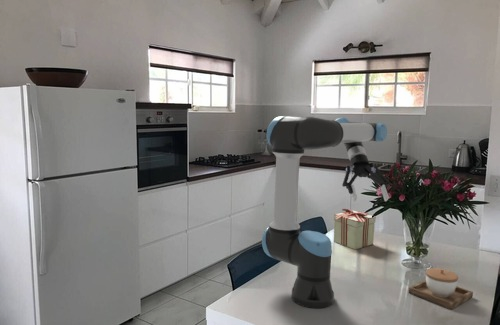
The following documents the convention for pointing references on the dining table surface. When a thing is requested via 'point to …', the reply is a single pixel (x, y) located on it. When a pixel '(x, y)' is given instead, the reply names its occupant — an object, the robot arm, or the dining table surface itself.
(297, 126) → the robot arm
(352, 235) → the gift box
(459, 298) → the walnut tray
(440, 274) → the lidded jar
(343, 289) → the dining table surface
